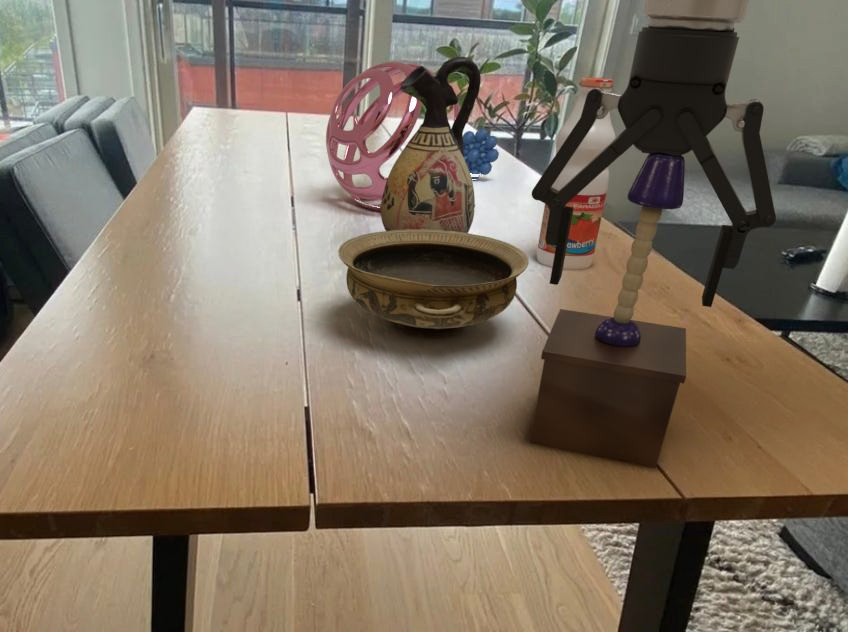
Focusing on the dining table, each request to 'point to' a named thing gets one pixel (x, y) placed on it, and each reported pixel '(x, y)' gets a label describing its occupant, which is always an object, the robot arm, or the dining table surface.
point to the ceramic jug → (433, 158)
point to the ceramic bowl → (432, 277)
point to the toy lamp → (644, 239)
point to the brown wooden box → (608, 389)
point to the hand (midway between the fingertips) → (628, 291)
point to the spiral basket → (370, 129)
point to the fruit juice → (592, 196)
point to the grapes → (479, 151)
